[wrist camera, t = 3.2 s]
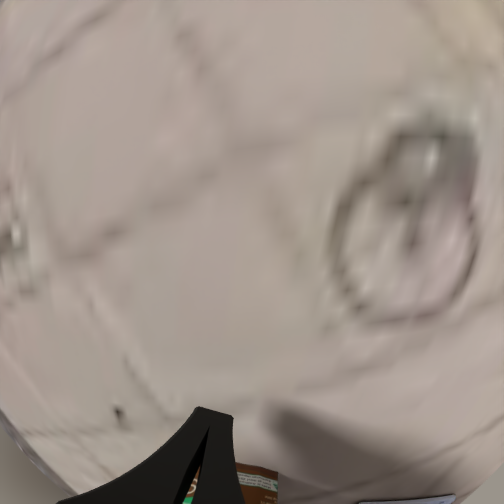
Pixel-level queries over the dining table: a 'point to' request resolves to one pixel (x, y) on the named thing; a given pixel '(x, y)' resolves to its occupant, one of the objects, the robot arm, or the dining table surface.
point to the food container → (250, 485)
